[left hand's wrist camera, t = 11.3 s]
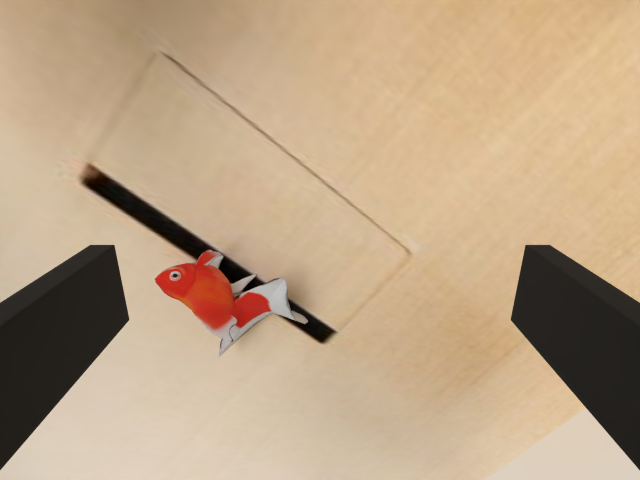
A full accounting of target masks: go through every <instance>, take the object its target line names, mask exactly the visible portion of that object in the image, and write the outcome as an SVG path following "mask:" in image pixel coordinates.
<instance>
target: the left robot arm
mask: <svg viewBox="0 0 640 480" xmlns="http://www.w3.org/2000/svg"><path fill="white" fill-rule="evenodd" d="M128 321H129V316H128V311H127V306H126V301H125V296H124V291H123V286H122V281H121V276H120V271H119V266H118V261H117V256H116V251H115V246H114V245H90V246H88V247H87V248H85V249H83V250H82V251H80V252H79V253H77V254H76V255H74V256H73V257H71V258H69V259H68V260H66V261H65V262H63V263H62V264H60V265H59V266H57V267H55V268H54V269H52V270H51V271H49V272H48V273H46V274H44V275H43V276H41V277H40V278H38V279H37V280H35V281H34V282H32V283H30V284H29V285H27V286H26V287H24V288H23V289H21V290H20V291H18V292H16V293H15V294H13V295H12V296H10V297H9V298H7V299H6V300H4V301H2V302H1V303H0V470H1V469H2V468H3V466H4V465H5V464H6V463H7V462H8V461H9V459H10V458H11V457H12V456H13V455H14V454H15V452H16V451H17V450H18V449H19V448H20V447H21V445H22V444H23V443H24V442H25V441H26V440H27V438H28V437H29V436H30V435H31V434H32V433H33V431H34V430H35V429H36V428H37V427H38V426H39V424H40V423H41V422H42V421H43V420H44V419H45V417H46V416H47V415H48V414H49V413H50V412H51V410H52V409H53V408H54V407H55V406H56V405H57V403H58V402H59V401H60V400H61V399H62V398H63V396H64V395H65V394H66V393H67V392H68V391H69V389H70V388H71V387H72V386H73V385H74V384H75V382H76V381H77V380H78V379H79V378H80V377H81V375H82V374H83V373H84V372H85V371H86V370H87V368H88V367H89V366H90V365H91V364H92V363H93V361H94V360H95V359H96V358H97V357H98V356H99V355H100V353H101V352H102V351H103V350H104V349H105V348H106V346H107V345H108V344H109V343H110V342H111V341H112V339H113V338H114V337H115V336H116V335H117V334H118V332H119V331H120V330H121V329H122V328H123V327H124V325H125V324H126V323H127V322H128ZM511 321H512V322H513V323H514V324H515V325H516V327H517V328H518V329H519V330H520V331H521V332H522V334H523V335H524V336H525V337H526V338H527V339H528V341H529V342H530V343H531V344H532V345H533V346H534V348H535V349H536V350H537V351H538V352H539V353H540V355H541V356H542V357H543V358H544V359H545V360H546V362H547V363H548V364H549V365H550V366H551V367H552V368H553V370H554V371H555V372H556V373H557V374H558V375H559V377H560V378H561V379H562V380H563V381H564V382H565V384H566V385H567V386H568V387H569V388H570V389H571V391H572V392H573V393H574V394H575V395H576V396H577V398H578V399H579V400H580V401H581V402H582V403H583V405H584V406H585V407H586V408H587V409H588V410H589V412H590V413H591V414H592V415H593V416H594V417H595V419H596V420H597V421H598V422H599V423H600V424H601V426H602V427H603V428H604V429H605V430H606V431H607V433H608V434H609V435H610V436H611V437H612V438H613V440H614V441H615V442H616V443H617V444H618V445H619V447H620V448H621V449H622V450H623V451H624V452H625V454H626V455H627V456H628V457H629V458H630V459H631V461H632V462H633V463H634V464H635V465H636V466H637V467H638V469H639V470H640V303H639V302H638V301H636V300H634V299H633V298H631V297H630V296H628V295H627V294H625V293H624V292H622V291H620V290H619V289H617V288H616V287H614V286H613V285H611V284H610V283H608V282H606V281H605V280H603V279H602V278H600V277H599V276H597V275H596V274H594V273H592V272H591V271H589V270H588V269H586V268H585V267H583V266H581V265H580V264H578V263H577V262H575V261H574V260H572V259H571V258H569V257H567V256H566V255H564V254H563V253H561V252H560V251H558V250H557V249H555V248H553V247H552V246H550V245H526V246H525V251H524V256H523V261H522V266H521V271H520V276H519V281H518V286H517V291H516V296H515V301H514V306H513V311H512V316H511Z"/></svg>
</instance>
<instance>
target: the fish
mask: <svg viewBox="0 0 640 480" xmlns="http://www.w3.org/2000/svg"><path fill="white" fill-rule="evenodd" d="M222 259H223V255H222V254H221V253H220V252H214V251H212V250H207V251H206V252H203V253H202V254H201V256H200V257H199V259H198V260H197V262H196V263H185V264H181V265H176V266H173V267H170V268H168V269H166V270H164V271H163V272H161V273H160V274H159V275H158V276H157V277H156V278H155V282H156V283H157V284H158V285H159V287H160V288H161V289H162V290H163V292H164V293H165V294H167V295H168V296H170V297H172V298H174V299H177V300H180V301H181V302H182V303H184V304H185V305H186V306H187V307H189V308H190V309H191V310H192V311H193V313H194V314H195V316H196V317H197V318H198V319H199V320H200V321H201V322H202V324H203V325H204V326H205V327H206V328H207V329H208V330H209V331H210V332H211V333H213V334H215V335H216V336H218V337H220V338H222V340H221V344H220V353H219V356H220V355H221V354H223V353H224V352H225V351H226V350H227V349H228V348H229V347H230V346H231V345H232V344H234V343H235V342H236V341H237V340H238V339H239V338H240V337H241V336H242V335H244V334H245V333H246V332H247V331H248V330H249V329H250V328H251V327H253V326H254V325H255V324H256V323H258V322H259V321H260V320H262V319H263V318H264V317H266V316H267V315H269V314H271V313H275V314H278V315H282V316H285V317H288V318H290V319H293V320H296V321H298V322H301V323H304V324H306V323H307V322H308V320H307V319H306V318H305V317H304V316H302V315H301V314H299V313H297V312H295V311H291V309H290V306H289V302H288V293H287V286H286V281H285V278H278V279H274V280H272V281H269V282H267V283H265V284H263V285H261V286H258V287H256V288H253V289H251V290H249V291H247V292H244V293H242V294H240V295H238V296H236V297H235V298H234V296H233V294H237V293H239V292H240V291H241V290H243V288H244V287H245V286H246V285H247V284H248V283H249V282H250V281H251V280H252V279H253V278H254V277H255V276H256V274H254V275H252V276H249V277H246V278H244V279H241V280H240V281H238V282H236V283H234V284H230V283H229V281H228V279H227V278H226V277H225V275H224V274H223V273H222V272H221V271H220V270H219V269H218V268H219V266H220V263H221V261H222Z"/></svg>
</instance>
